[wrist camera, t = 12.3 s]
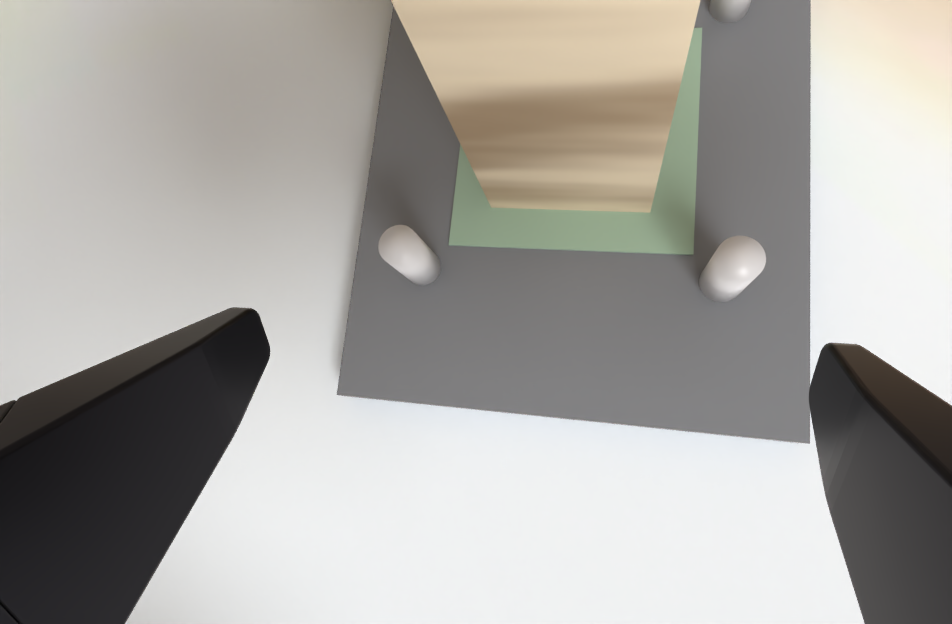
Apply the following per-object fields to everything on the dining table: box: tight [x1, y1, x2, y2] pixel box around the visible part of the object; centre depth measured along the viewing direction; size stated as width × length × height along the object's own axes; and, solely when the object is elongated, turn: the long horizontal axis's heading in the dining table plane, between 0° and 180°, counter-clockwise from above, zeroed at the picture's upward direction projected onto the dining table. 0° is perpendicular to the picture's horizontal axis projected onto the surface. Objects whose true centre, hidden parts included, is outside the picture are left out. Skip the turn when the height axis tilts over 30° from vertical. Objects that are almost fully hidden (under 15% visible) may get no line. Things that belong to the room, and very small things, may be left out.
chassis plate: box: [337, 0, 810, 444], centre depth 18 cm, size 18×14×4 cm
